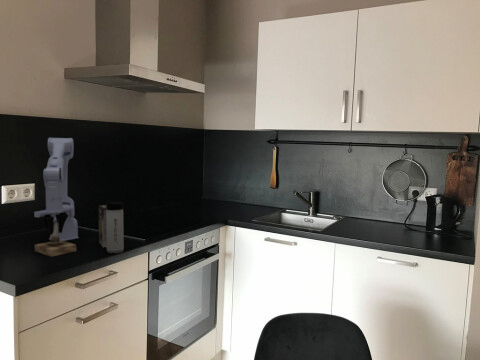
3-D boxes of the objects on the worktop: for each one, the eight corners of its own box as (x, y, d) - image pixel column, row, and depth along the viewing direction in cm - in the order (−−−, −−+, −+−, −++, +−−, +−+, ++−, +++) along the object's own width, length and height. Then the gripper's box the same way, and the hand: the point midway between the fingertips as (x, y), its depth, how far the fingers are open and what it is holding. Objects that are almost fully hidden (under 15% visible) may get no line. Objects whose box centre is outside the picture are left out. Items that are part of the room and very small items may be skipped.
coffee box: (98, 242, 168) (97, 205, 166) (114, 241, 171) (113, 204, 169) (102, 248, 160) (102, 208, 158) (119, 246, 163) (118, 207, 161)
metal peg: (56, 240, 156) (55, 220, 155) (61, 241, 154) (60, 220, 154) (48, 241, 153) (48, 221, 152) (53, 242, 151) (53, 222, 151)
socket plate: (59, 246, 162) (59, 240, 161) (76, 251, 154) (76, 244, 154) (34, 251, 153) (34, 244, 153) (51, 256, 146) (51, 250, 146)
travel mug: (112, 248, 159) (111, 199, 157) (126, 250, 157) (126, 200, 155) (102, 252, 153) (101, 201, 151) (117, 254, 151) (116, 202, 149)
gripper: (40, 201, 144) (41, 238, 145) (77, 197, 156) (78, 231, 157) (31, 199, 148) (32, 235, 149) (67, 195, 160) (68, 229, 161)
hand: (55, 233), depth 153 cm, fingers closed on metal peg, 3 cm apart
